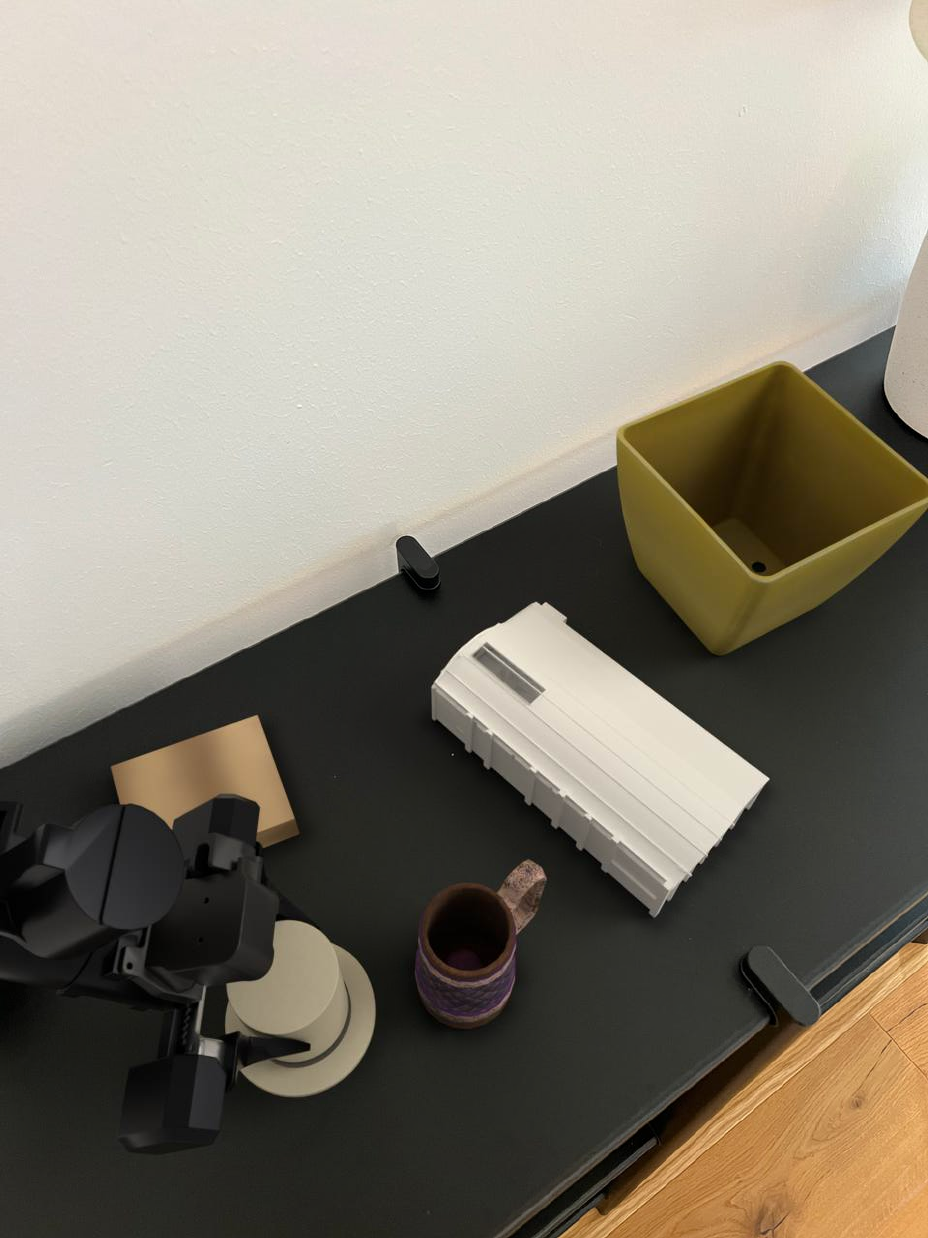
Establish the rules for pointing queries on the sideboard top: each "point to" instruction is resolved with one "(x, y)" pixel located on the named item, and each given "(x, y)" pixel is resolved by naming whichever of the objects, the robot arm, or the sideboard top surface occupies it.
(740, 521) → the flower pot
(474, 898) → the mug
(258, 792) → the wooden block
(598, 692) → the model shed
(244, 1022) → the hat
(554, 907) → the sideboard top surface
